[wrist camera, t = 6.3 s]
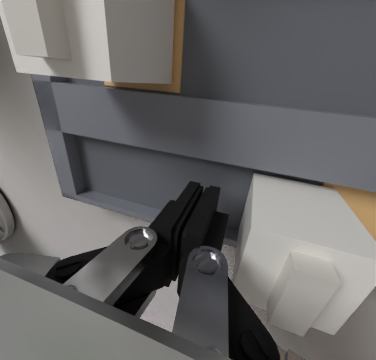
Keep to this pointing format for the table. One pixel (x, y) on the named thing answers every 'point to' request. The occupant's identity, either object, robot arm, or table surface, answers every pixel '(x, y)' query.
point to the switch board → (228, 111)
